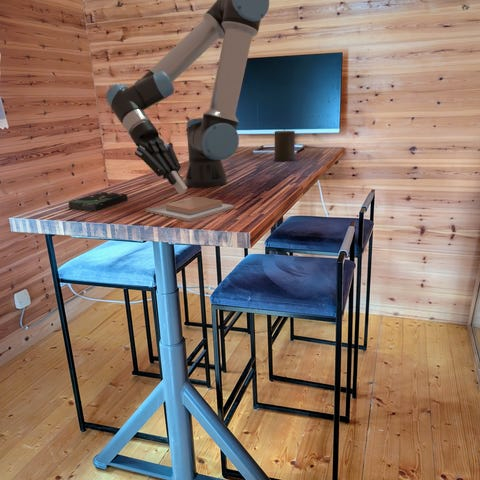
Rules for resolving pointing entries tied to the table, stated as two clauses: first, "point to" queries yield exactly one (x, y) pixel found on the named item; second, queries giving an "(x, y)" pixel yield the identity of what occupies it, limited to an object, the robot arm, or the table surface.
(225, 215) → the table surface
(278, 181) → the table surface
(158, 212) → the mat
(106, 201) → the disk drive
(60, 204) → the table surface
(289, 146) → the pillar candle
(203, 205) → the tile
